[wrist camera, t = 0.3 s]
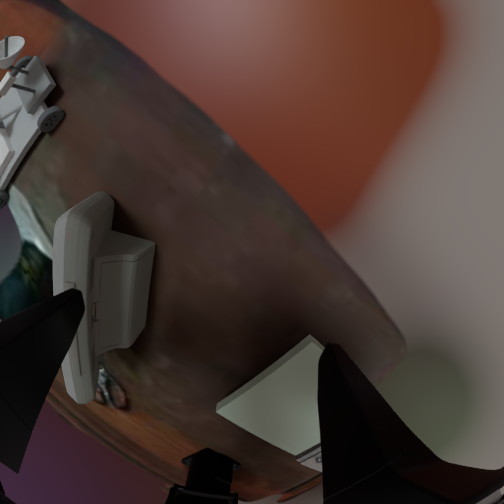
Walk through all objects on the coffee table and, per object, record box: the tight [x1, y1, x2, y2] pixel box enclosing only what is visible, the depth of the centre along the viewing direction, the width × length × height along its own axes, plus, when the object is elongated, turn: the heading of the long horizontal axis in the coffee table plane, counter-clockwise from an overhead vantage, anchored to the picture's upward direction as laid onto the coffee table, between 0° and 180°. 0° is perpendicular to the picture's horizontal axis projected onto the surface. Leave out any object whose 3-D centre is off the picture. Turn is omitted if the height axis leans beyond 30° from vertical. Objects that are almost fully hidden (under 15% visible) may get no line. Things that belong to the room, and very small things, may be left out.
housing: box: [295, 442, 322, 472], centre depth 29 cm, size 5×8×4 cm, turn 47°
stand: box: [216, 334, 325, 456], centre depth 26 cm, size 12×12×4 cm
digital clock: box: [53, 191, 156, 404], centre depth 20 cm, size 16×9×11 cm, turn 154°
